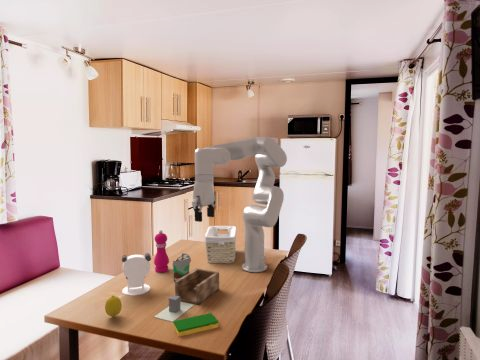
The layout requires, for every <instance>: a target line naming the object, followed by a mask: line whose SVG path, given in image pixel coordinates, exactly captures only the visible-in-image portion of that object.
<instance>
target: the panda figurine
mask: <svg viewBox="0 0 480 360" xmlns="http://www.w3.org/2000/svg"><path fill="white" fill-rule="evenodd" d="M151 256H152V255H151V254H150V252H149V253H148V252H147V253H145V254H131V255H129V256H127V255H126V254H125V255H122V256H121V262H122V273H123V275H124V276H125V278H126V280H127V285H126V286H125V287H124V288H122V291H121V293H122V295H126V296H133V297H134V296H140V295H143V294H146V293H147V292H148V293H149V291H150V290H151V287H150V285H149V284H147V283H145V278H146V276H148V275H149V273H150V272H151V264H150V261H151V260H152V257H151Z"/></svg>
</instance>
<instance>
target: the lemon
mask: <svg viewBox="0 0 480 360" xmlns="http://www.w3.org/2000/svg"><path fill="white" fill-rule="evenodd" d="M104 310H105V312H106V315H108V316H109V317H112V318H116V316H118V315H119V314H120V313H121V311H122V300H121V299H120V298H119V297H118V296H116V295H111V296H109V297H108V298H107V299H106V301H105V304H104Z"/></svg>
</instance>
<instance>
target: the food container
mask: <svg viewBox="0 0 480 360" xmlns="http://www.w3.org/2000/svg"><path fill="white" fill-rule="evenodd" d="M191 262H192V257H191V255H189V253H186V252H185V253H183V252H181V255H180V257H177V259H175V260H173V261H172V269H173V270H172V272H173V282H174V283H175V281H177V280H178V279H180V278H182V277H183V276H185V275H187V274H188V273H190V265H191Z"/></svg>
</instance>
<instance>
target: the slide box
mask: <svg viewBox="0 0 480 360" xmlns="http://www.w3.org/2000/svg"><path fill="white" fill-rule="evenodd" d="M174 290H175V291H174V295H175V296H180V302H185V303H189V304H193V305H198V306H200V305H201V304H202V303H204V302H205V301H207V300H208V299H209V298H210V297H212V296H213V295H214V294H215V293H217V292H218V291H219V290H220V272H218V271H214V270H213V271H212V270H209V269H208V270H207V269H202V268H195V269H194V270H192V271H189V273H188V274H187V275H185V276H183V277H182V278H180V279H178V280H177V281H175V282H174Z"/></svg>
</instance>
